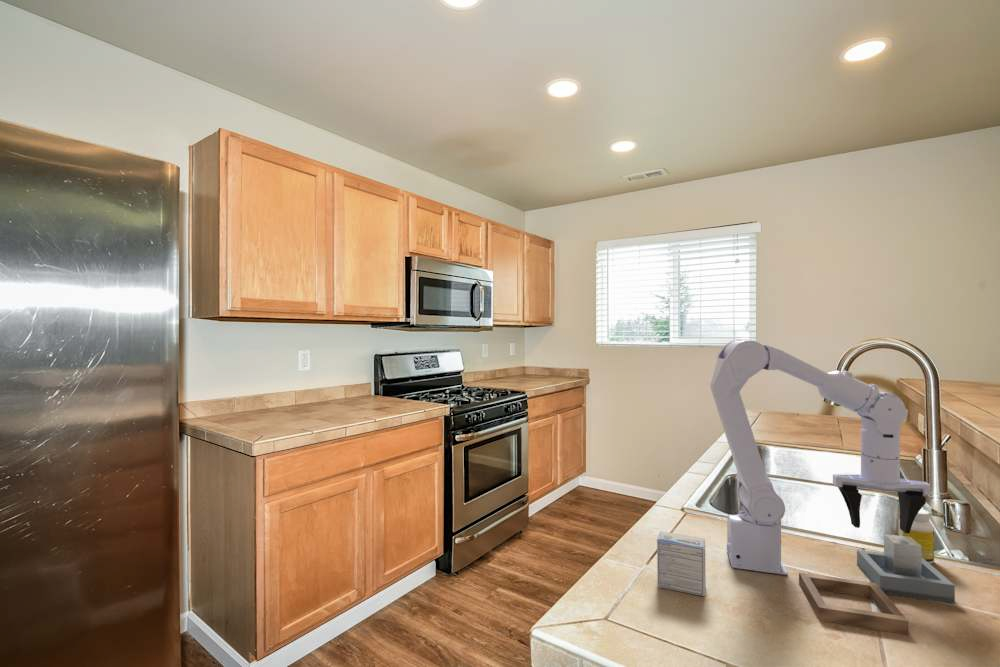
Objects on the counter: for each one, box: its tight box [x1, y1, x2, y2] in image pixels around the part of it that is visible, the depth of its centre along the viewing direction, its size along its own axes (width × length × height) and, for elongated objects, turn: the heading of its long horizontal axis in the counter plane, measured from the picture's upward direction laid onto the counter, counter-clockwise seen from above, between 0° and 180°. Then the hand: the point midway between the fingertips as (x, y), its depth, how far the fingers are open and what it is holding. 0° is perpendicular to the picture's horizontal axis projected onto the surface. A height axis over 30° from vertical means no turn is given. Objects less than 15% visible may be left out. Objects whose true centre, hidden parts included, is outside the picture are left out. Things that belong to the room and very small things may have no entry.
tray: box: [856, 549, 956, 604], centre depth 86 cm, size 10×10×3 cm
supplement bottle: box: [898, 508, 935, 565], centre depth 96 cm, size 5×5×10 cm
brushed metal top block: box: [883, 533, 922, 578], centre depth 86 cm, size 4×4×7 cm
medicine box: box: [656, 530, 707, 597], centre depth 85 cm, size 8×4×9 cm, turn 65°
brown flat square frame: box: [798, 572, 910, 635], centre depth 79 cm, size 12×12×2 cm
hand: (879, 528), depth 89 cm, fingers open, 7 cm apart
